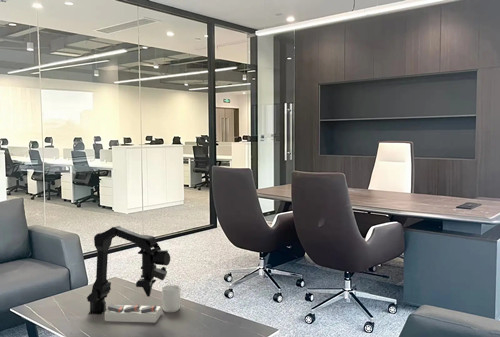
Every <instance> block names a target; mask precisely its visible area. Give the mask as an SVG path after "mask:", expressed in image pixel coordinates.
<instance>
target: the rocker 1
mask: <svg viewBox="0 0 500 337" xmlns="http://www.w3.org/2000/svg"><path fill="white" fill-rule="evenodd" d="M117 305H118V304H113V303H110V304H109V305H108V307H107V310H111V311H115V312H122V311H123V308H124V307H120V306H117Z"/></svg>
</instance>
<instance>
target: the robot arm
mask: <svg viewBox="0 0 500 337" xmlns="http://www.w3.org/2000/svg"><path fill="white" fill-rule="evenodd" d="M115 237H116V238H117V237H118V238H121V239H123V240H126V241H128V242H131V243H133V244H135V245H136V246H137V247H138V248H139V249H140V250H139V251H138V252H137V254H138V255H141V266H140V270H141V275H140V278H139V279H138V280H137V281H136V283H135V286H136V287H137V288H142V289H143V291H144V293H145V295H146V297H150V296H151V293H152V288H153V285H154V284H155V282H157V279H158V280H160V281H164V280H165V279H166V276H167V274H168V270H167V267H165V266H169V265H170V262H171V254H170V253H169V250H167V249H165V250H162V248H161V247H160V245H159V244H158V243H159V242H157V240H156V237H155V236H153V235H147V234H139V233H136V232H134V231H131V230H130V229H127V228H124V227H122V226H120V225H116V226H112V227H110V228H109V229H107V230H105V231H102V232H100V233H96V235H94V236H93V242H94V247H95V248H96V270H95V271H96V272H95V274H96V276H95V280H94V282H93V285H92V288H91V292H90V293H89V294H88V296H87V297H86V299H87V302H88V303H89V311H88V314H91V315H92V314H93V315H102V314H103V313H105V312H106V311H107V307H106V306H107V304H106V303H107V301H106V300H105V299H106V298H107V297H108V294H109V293H110V291H112V288H111V285H112V283H111V281H109V280H108V279H107V276H108V275H107V274H108V259H109V258H108V257H109V256H108V255H109V249H110V247H111V246H112V243H113V241H112V240H113V239H114V238H115ZM157 266H162V267H161V268H159V267H157ZM154 278H156V279H154Z"/></svg>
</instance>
